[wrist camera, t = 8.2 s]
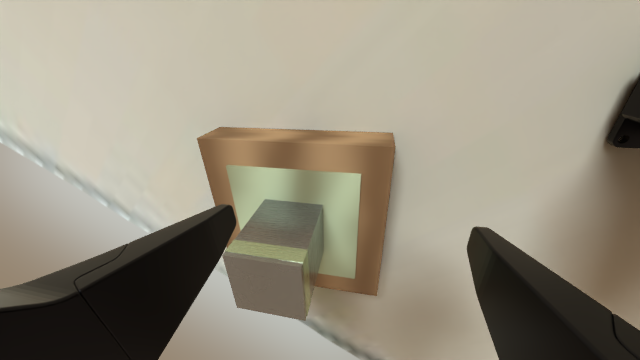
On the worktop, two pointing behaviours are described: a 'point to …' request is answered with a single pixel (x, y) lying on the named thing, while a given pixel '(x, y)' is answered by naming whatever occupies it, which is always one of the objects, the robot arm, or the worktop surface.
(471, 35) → the worktop surface
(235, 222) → the robot arm
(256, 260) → the grey box
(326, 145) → the platform
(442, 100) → the worktop surface
